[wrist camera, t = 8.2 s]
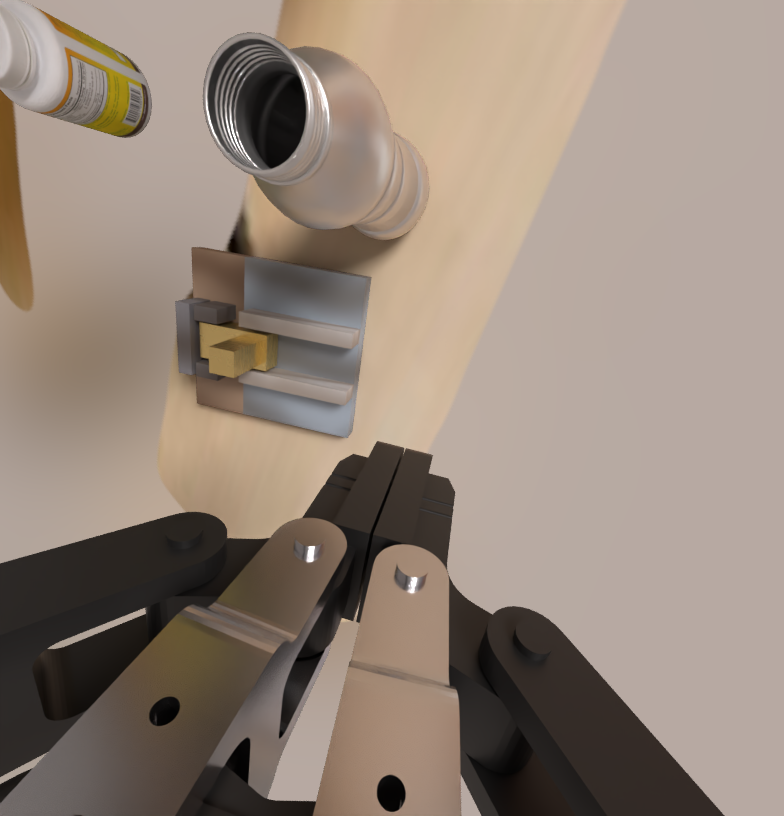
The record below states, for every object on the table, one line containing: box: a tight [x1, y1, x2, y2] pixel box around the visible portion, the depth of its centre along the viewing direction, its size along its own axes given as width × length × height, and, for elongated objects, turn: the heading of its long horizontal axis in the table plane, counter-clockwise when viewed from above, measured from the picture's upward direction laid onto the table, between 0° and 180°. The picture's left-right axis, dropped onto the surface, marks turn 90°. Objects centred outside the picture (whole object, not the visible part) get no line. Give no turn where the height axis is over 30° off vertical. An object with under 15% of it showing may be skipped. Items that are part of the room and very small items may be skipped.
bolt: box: [199, 321, 278, 378], centre depth 33 cm, size 3×6×6 cm, turn 81°
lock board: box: [175, 247, 371, 438], centre depth 35 cm, size 14×15×4 cm
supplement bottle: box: [0, 0, 152, 138], centre depth 28 cm, size 6×6×10 cm
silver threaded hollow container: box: [203, 32, 429, 240], centre depth 22 cm, size 6×7×20 cm
